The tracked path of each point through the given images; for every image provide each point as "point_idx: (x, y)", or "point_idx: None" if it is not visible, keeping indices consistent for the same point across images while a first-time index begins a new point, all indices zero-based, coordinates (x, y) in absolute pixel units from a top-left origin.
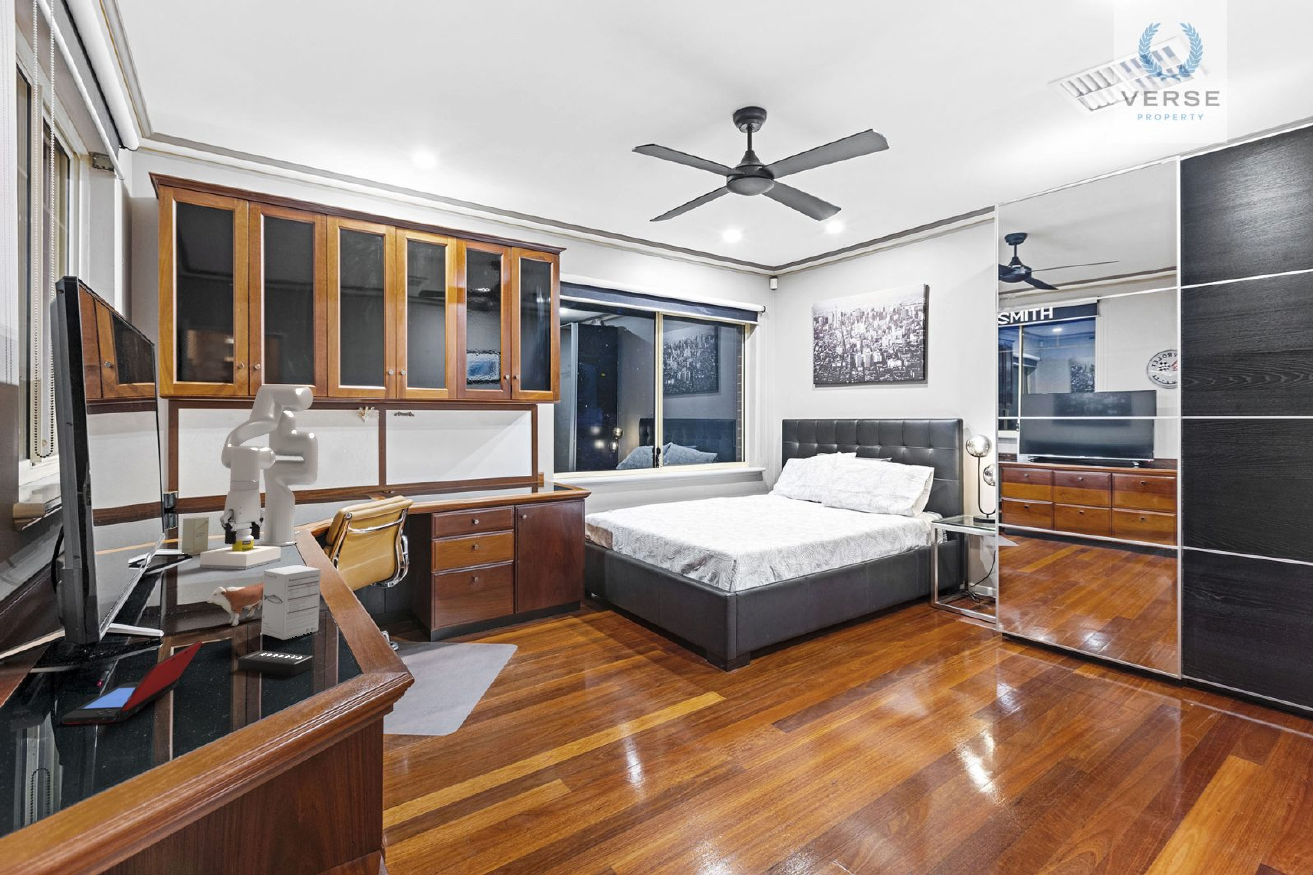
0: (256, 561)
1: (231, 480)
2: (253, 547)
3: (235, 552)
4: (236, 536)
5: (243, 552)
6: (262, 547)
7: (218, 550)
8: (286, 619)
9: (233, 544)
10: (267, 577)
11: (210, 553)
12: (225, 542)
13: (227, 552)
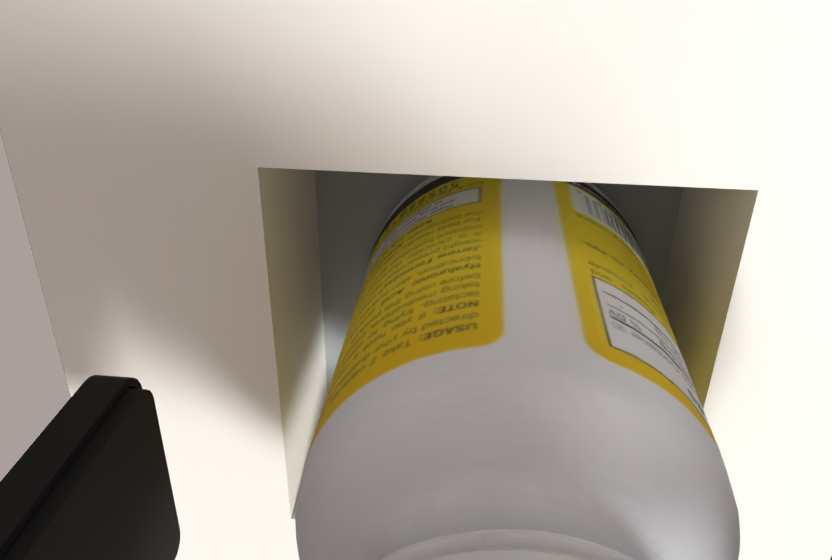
0: None
1: None
2: (752, 416)
3: (197, 450)
4: (363, 531)
5: (235, 538)
6: (753, 533)
7: (285, 39)
8: None
9: (335, 378)
10: None
11: (3, 109)
12: (85, 399)
13: (154, 349)
